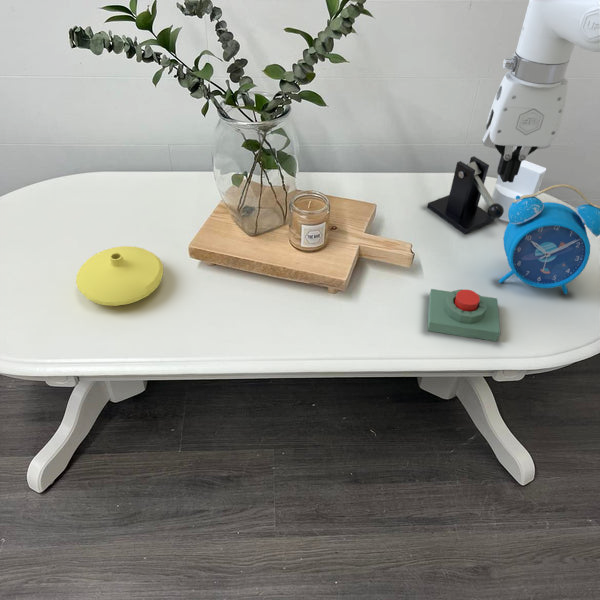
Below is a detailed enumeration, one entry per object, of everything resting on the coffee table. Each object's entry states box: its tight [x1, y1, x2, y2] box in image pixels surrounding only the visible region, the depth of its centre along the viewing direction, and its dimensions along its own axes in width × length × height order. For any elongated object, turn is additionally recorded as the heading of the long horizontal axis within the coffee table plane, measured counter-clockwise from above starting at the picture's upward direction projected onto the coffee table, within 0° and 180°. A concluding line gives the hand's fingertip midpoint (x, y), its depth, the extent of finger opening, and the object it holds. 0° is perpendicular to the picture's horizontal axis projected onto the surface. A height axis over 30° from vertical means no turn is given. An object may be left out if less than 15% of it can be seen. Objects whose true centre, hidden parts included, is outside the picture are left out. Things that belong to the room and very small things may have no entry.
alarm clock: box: [498, 183, 600, 295], centre depth 105 cm, size 17×10×20 cm, turn 76°
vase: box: [75, 245, 164, 307], centre depth 106 cm, size 16×16×7 cm
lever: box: [466, 161, 504, 220], centre depth 120 cm, size 13×3×3 cm, turn 33°
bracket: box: [426, 155, 496, 235], centre depth 124 cm, size 12×9×13 cm
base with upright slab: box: [491, 159, 547, 223], centre depth 126 cm, size 9×9×12 cm
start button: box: [455, 289, 480, 312], centre depth 101 cm, size 4×4×2 cm
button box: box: [427, 288, 501, 342], centre depth 102 cm, size 12×9×4 cm
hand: (505, 177), depth 96 cm, fingers closed
